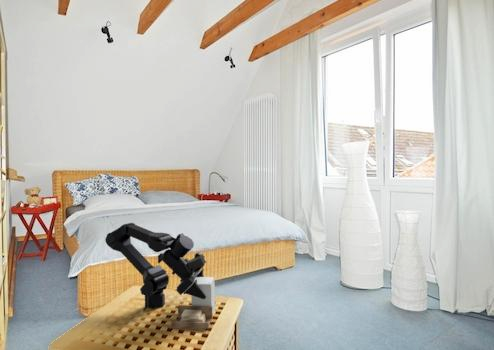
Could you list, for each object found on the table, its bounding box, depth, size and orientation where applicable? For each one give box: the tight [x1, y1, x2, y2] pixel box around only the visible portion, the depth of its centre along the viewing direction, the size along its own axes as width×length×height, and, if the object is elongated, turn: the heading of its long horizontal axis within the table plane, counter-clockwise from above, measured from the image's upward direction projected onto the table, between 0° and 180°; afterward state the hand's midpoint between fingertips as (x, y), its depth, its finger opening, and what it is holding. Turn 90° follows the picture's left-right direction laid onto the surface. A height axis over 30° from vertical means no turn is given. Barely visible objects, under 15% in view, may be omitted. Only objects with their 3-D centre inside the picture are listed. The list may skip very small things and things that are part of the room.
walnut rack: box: [171, 304, 213, 330], centre depth 113 cm, size 12×8×5 cm, turn 85°
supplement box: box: [190, 276, 216, 316], centre depth 121 cm, size 7×7×13 cm
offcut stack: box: [180, 310, 206, 322], centre depth 112 cm, size 8×5×4 cm, turn 85°
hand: (207, 293), depth 120 cm, fingers closed on supplement box, 7 cm apart
